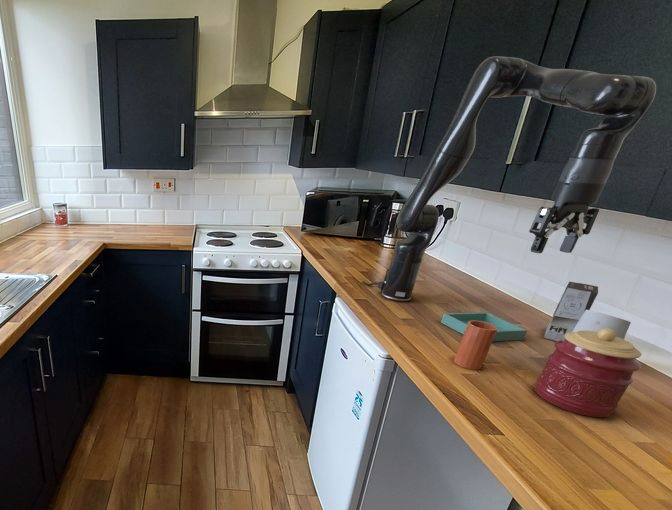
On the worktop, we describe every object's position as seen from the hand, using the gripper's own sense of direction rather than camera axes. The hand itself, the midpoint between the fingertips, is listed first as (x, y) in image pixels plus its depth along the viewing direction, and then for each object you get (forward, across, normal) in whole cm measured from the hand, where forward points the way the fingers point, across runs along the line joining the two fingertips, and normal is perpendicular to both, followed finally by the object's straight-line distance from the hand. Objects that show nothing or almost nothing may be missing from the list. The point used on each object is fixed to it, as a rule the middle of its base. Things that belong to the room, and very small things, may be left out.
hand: (550, 252), depth 95 cm
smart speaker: (+29, -22, +4) cm, 36 cm away
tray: (+29, -9, -16) cm, 34 cm away
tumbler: (+29, +13, +2) cm, 32 cm away
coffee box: (+29, -30, -9) cm, 43 cm away
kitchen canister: (+29, +4, +19) cm, 35 cm away
